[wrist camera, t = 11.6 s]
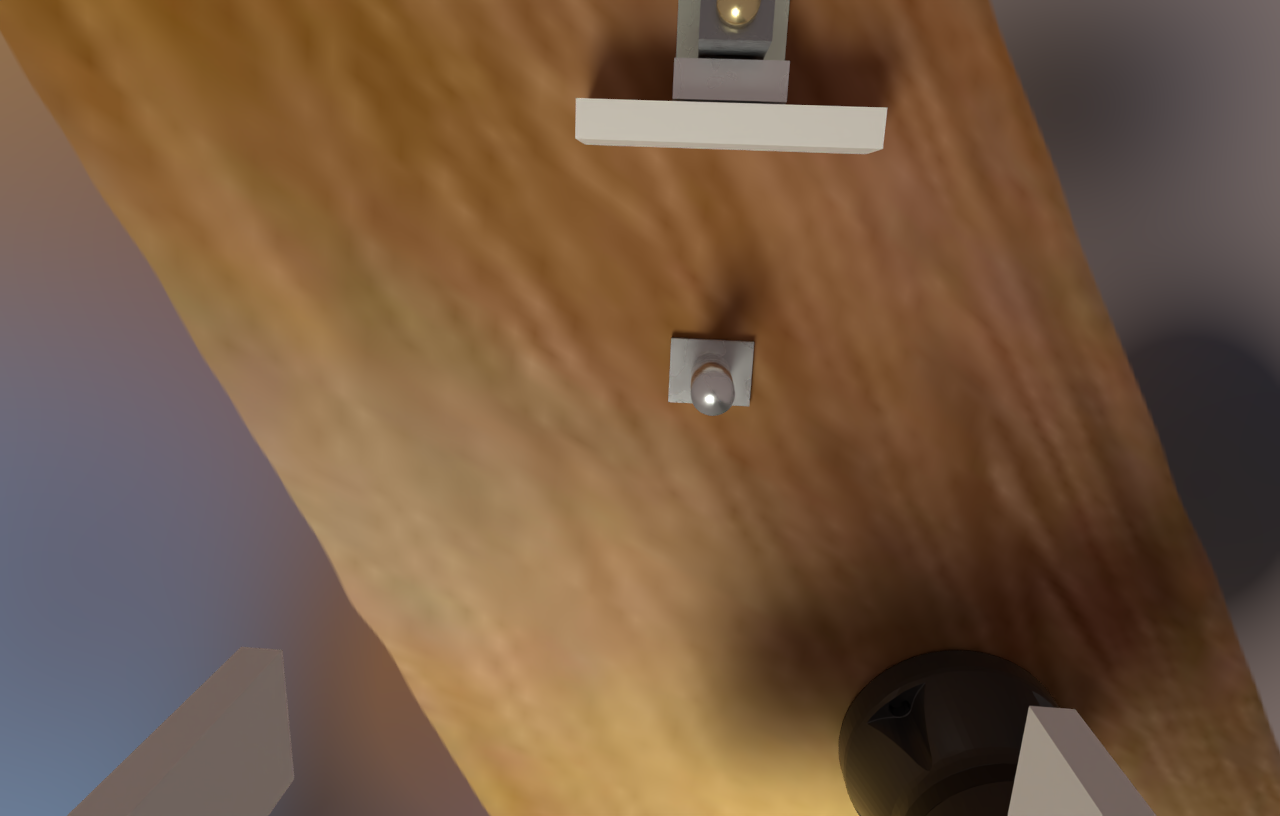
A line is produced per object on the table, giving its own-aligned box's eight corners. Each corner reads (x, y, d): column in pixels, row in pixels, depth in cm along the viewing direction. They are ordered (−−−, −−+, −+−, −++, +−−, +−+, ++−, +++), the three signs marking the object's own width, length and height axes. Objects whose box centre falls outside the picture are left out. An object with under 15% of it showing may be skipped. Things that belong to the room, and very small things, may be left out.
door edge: (866, 154, 43) (882, 148, 39) (585, 144, 44) (575, 138, 40) (869, 116, 43) (887, 107, 39) (586, 107, 44) (575, 98, 40)
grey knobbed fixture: (748, 404, 47) (756, 432, 42) (668, 400, 48) (665, 427, 42) (753, 341, 46) (762, 360, 40) (671, 337, 47) (668, 355, 41)
